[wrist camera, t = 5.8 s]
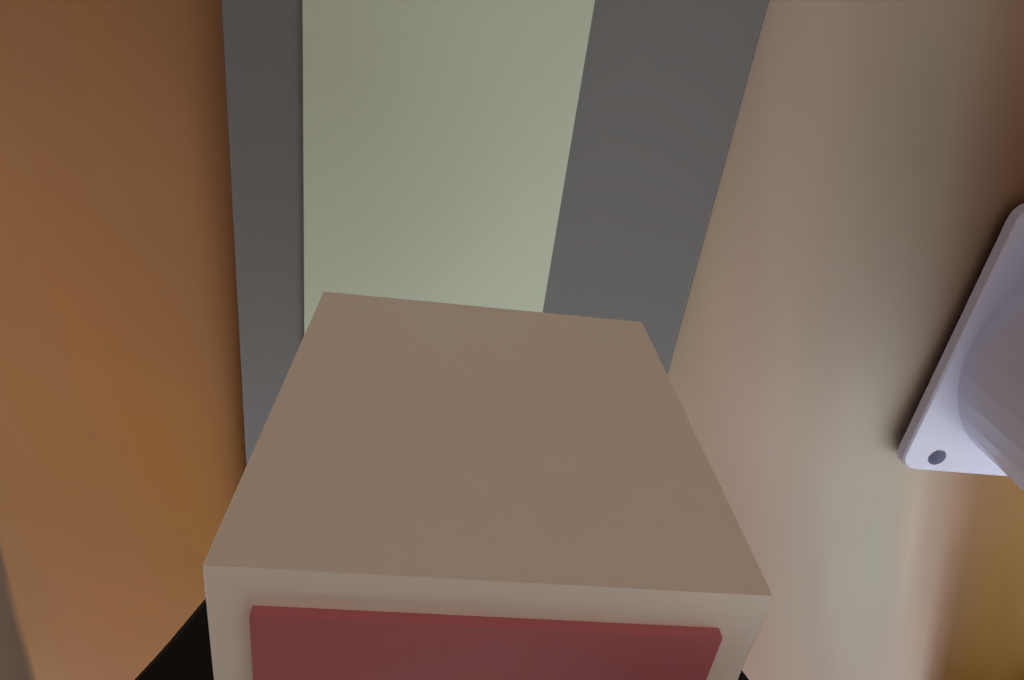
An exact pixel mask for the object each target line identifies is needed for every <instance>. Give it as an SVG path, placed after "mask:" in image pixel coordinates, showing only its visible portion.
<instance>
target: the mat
mask: <svg viewBox="0 0 1024 680" xmlns="http://www.w3.org/2000/svg"><path fill="white" fill-rule="evenodd" d="M221 2H222V20H223V39H224V58H225V76H226V95H227V114H228V132H229V151H230V170H231V188H232V207H233V226H234V245H235V263H236V282H237V301H238V319H239V338H240V357H241V375H242V394H243V413H244V431H245V450H246V466H247V464H248V462H249V459H250V457H251V455H252V452H253V450H254V448H255V446H256V443H257V441H258V439H259V437H260V434H261V432H262V430H263V428H264V425H265V423H266V421H267V419H268V416H269V414H270V412H271V410H272V407H273V405H274V403H275V401H276V398H277V396H278V394H279V391H280V389H281V387H282V385H283V382H284V380H285V378H286V376H287V373H288V371H289V369H290V367H291V364H292V362H293V360H294V358H295V355H296V353H297V351H298V349H299V346H300V344H301V342H302V340H303V337H304V335H305V333H306V330H307V328H308V326H309V324H310V321H311V319H312V317H313V315H314V312H315V310H316V308H317V306H318V303H319V301H320V299H321V297H322V294H323V292H334V293H345V294H355V295H365V296H376V297H386V298H397V299H407V300H418V301H428V302H438V303H449V304H459V305H470V306H480V307H491V308H501V309H512V310H522V311H532V312H543V313H553V314H564V315H574V316H585V317H595V318H605V319H616V320H626V321H637V322H642V323H643V325H644V327H645V329H646V331H647V334H648V336H649V338H650V340H651V342H652V344H653V346H654V348H655V350H656V352H657V354H658V357H659V359H660V361H661V363H662V365H663V367H664V369H665V371H666V373H667V374H668V370H669V367H670V363H671V359H672V356H673V352H674V348H675V345H676V341H677V337H678V334H679V330H680V326H681V323H682V319H683V315H684V311H685V308H686V304H687V300H688V297H689V293H690V289H691V286H692V282H693V278H694V275H695V271H696V267H697V264H698V260H699V256H700V253H701V249H702V245H703V241H704V238H705V234H706V230H707V227H708V223H709V219H710V216H711V212H712V208H713V205H714V201H715V197H716V194H717V190H718V186H719V183H720V179H721V175H722V171H723V168H724V164H725V160H726V157H727V153H728V149H729V146H730V142H731V138H732V135H733V131H734V127H735V124H736V120H737V116H738V113H739V109H740V105H741V101H742V98H743V94H744V90H745V87H746V83H747V79H748V76H749V72H750V68H751V65H752V61H753V57H754V54H755V50H756V46H757V43H758V39H759V35H760V31H761V28H762V24H763V20H764V17H765V13H766V9H767V6H768V2H769V0H221Z"/></svg>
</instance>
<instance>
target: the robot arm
mask: <svg viewBox="0 0 1024 680" xmlns="http://www.w3.org/2000/svg"><path fill="white" fill-rule="evenodd" d="M935 451H936V452H935ZM933 452H935V453H934V454H933V455H931V456H930V454H931V453H933ZM897 454H898V458H899V459H900V460H901V461H902V462H903V464H904V465H906V466H907V467H908V468H912V469H921V470H934V471H947V472H960V473H973V474H986V475H999V476H1008V477H1010V478H1011V479H1012V480H1013V481H1014V482H1015V483H1016V484H1017V485H1018V486H1019V487H1020V488H1021V489H1022V490H1023V491H1024V203H1023V204H1020V205H1019V206H1017V207H1016V208H1015V209H1014V210H1013V211H1012V212H1011V213H1010V215H1009V216H1008V218H1007V220H1006V222H1005V224H1004V226H1003V228H1002V230H1001V232H1000V234H999V237H998V239H997V241H996V243H995V245H994V247H993V249H992V251H991V253H990V256H989V258H988V260H987V262H986V264H985V266H984V268H983V270H982V272H981V275H980V277H979V279H978V281H977V283H976V285H975V287H974V289H973V291H972V293H971V296H970V298H969V300H968V302H967V304H966V306H965V308H964V310H963V312H962V315H961V317H960V319H959V321H958V323H957V325H956V327H955V329H954V331H953V334H952V336H951V338H950V340H949V342H948V344H947V346H946V348H945V350H944V353H943V355H942V357H941V359H940V361H939V363H938V365H937V367H936V369H935V372H934V374H933V376H932V378H931V380H930V382H929V384H928V386H927V388H926V391H925V393H924V395H923V397H922V399H921V401H920V403H919V405H918V407H917V409H916V412H915V414H914V416H913V418H912V420H911V422H910V424H909V426H908V428H907V431H906V433H905V435H904V437H903V439H902V441H901V443H900V445H899V447H898V451H897ZM135 680H214V676H213V666H212V656H211V646H210V636H209V626H208V615H207V605H206V599H205V600H204V601H203V602H202V603H201V605H200V606H199V607H198V608H197V609H196V611H195V612H194V613H193V614H192V615H191V617H190V618H189V619H188V620H187V621H186V623H185V624H184V625H183V626H182V627H181V628H180V630H179V631H178V632H177V633H176V634H175V636H174V637H173V638H172V639H171V640H170V642H169V643H168V644H167V645H166V646H165V647H164V648H163V650H162V651H161V652H160V653H159V654H158V655H157V656H156V657H155V658H154V659H153V661H152V662H151V663H150V664H149V665H148V666H147V667H146V668H145V669H144V670H143V671H142V672H141V674H140V675H139V676H138V677H137V678H136V679H135ZM738 680H749V679H748V678H747V677H746V675H745V674H744V673H743V671H741V673H740V675H739V678H738Z"/></svg>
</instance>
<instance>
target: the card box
mask: <svg viewBox="0 0 1024 680" xmlns="http://www.w3.org/2000/svg"><path fill="white" fill-rule="evenodd" d="M203 575H204V585H205V595H206V605H207V615H208V626H209V636H210V646H211V656H212V666H213V676H214V680H738V678H739V675H740V673H741V671H742V668H743V666H744V663H745V661H746V659H747V656H748V654H749V652H750V649H751V647H752V645H753V642H754V640H755V637H756V635H757V633H758V630H759V628H760V626H761V623H762V621H763V619H764V616H765V614H766V611H767V609H768V607H769V604H770V602H771V600H772V597H773V595H772V593H771V591H770V589H769V587H768V585H767V583H766V581H765V578H764V576H763V574H762V572H761V570H760V568H759V566H758V564H757V562H756V560H755V558H754V555H753V553H752V551H751V549H750V547H749V545H748V543H747V541H746V539H745V537H744V534H743V532H742V530H741V528H740V526H739V524H738V522H737V520H736V518H735V516H734V514H733V511H732V509H731V507H730V505H729V503H728V501H727V499H726V497H725V495H724V493H723V491H722V488H721V486H720V484H719V482H718V480H717V478H716V476H715V474H714V472H713V470H712V467H711V465H710V463H709V461H708V459H707V457H706V455H705V453H704V451H703V449H702V447H701V444H700V442H699V440H698V438H697V436H696V434H695V432H694V430H693V428H692V426H691V424H690V421H689V419H688V417H687V415H686V413H685V411H684V409H683V407H682V405H681V403H680V400H679V398H678V396H677V394H676V392H675V390H674V388H673V386H672V384H671V382H670V380H669V377H668V375H667V373H666V371H665V369H664V367H663V365H662V363H661V361H660V359H659V357H658V354H657V352H656V350H655V348H654V346H653V344H652V342H651V340H650V338H649V336H648V334H647V331H646V329H645V327H644V325H643V323H642V322H637V321H626V320H616V319H605V318H595V317H585V316H574V315H564V314H553V313H543V312H532V311H522V310H512V309H501V308H491V307H480V306H470V305H459V304H449V303H438V302H428V301H418V300H407V299H397V298H386V297H376V296H365V295H355V294H345V293H334V292H323V294H322V297H321V299H320V301H319V303H318V306H317V308H316V310H315V312H314V315H313V317H312V319H311V321H310V324H309V326H308V328H307V330H306V333H305V335H304V337H303V340H302V342H301V344H300V346H299V349H298V351H297V353H296V355H295V358H294V360H293V362H292V364H291V367H290V369H289V371H288V373H287V376H286V378H285V380H284V382H283V385H282V387H281V389H280V391H279V394H278V396H277V398H276V401H275V403H274V405H273V407H272V410H271V412H270V414H269V416H268V419H267V421H266V423H265V425H264V428H263V430H262V432H261V434H260V437H259V439H258V441H257V443H256V446H255V448H254V450H253V452H252V455H251V457H250V459H249V462H248V464H247V466H246V468H245V471H244V473H243V475H242V477H241V480H240V482H239V484H238V486H237V489H236V491H235V493H234V495H233V498H232V500H231V502H230V504H229V507H228V509H227V511H226V514H225V516H224V518H223V520H222V523H221V525H220V527H219V529H218V532H217V534H216V536H215V538H214V541H213V543H212V545H211V547H210V550H209V552H208V554H207V556H206V559H205V561H204V563H203Z"/></svg>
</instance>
